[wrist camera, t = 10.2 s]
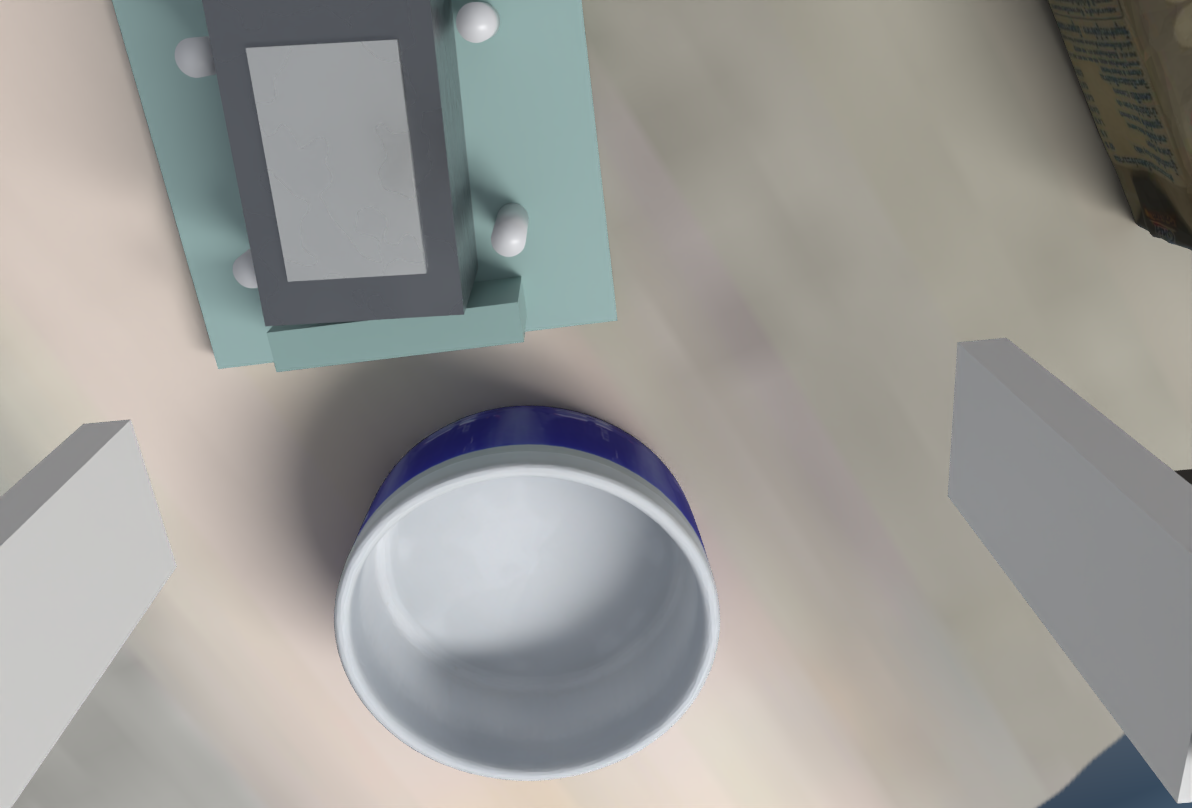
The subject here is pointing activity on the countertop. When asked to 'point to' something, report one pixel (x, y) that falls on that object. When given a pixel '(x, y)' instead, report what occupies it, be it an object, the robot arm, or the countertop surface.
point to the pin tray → (496, 173)
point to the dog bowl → (528, 597)
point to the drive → (348, 155)
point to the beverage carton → (1139, 100)
